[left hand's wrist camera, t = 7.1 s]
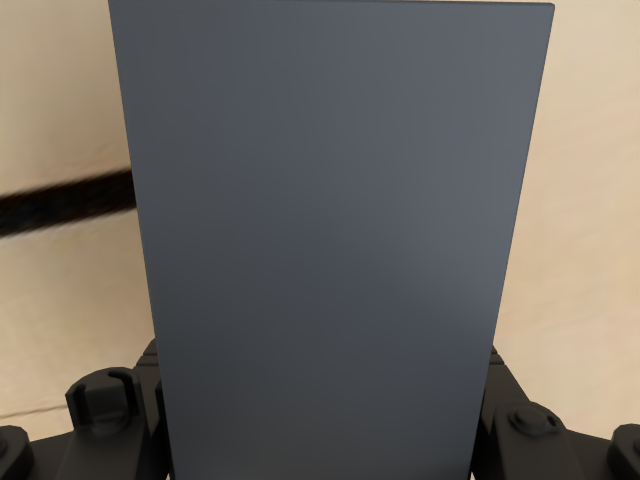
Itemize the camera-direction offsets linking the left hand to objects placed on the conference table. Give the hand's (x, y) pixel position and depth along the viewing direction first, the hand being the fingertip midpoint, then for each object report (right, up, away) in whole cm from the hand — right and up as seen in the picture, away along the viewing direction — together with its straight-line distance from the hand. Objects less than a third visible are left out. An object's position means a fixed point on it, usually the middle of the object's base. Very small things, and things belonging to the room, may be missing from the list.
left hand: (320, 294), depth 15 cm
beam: (0, -21, +8) cm, 23 cm away
